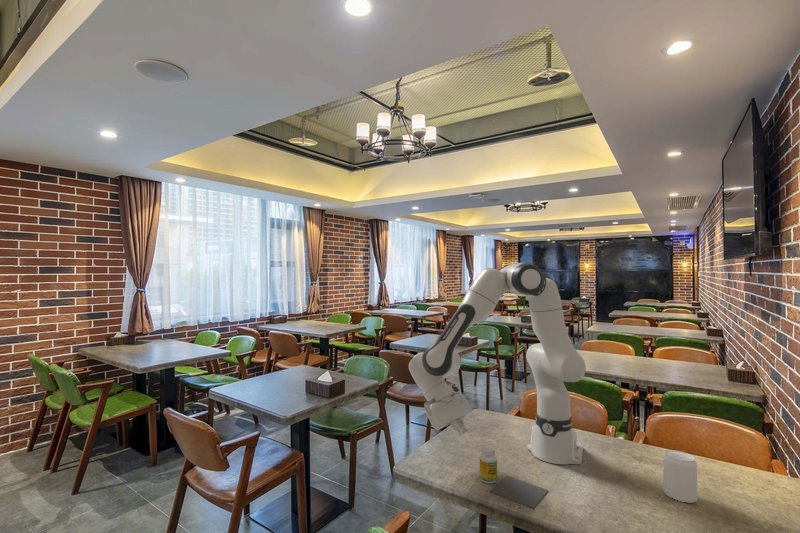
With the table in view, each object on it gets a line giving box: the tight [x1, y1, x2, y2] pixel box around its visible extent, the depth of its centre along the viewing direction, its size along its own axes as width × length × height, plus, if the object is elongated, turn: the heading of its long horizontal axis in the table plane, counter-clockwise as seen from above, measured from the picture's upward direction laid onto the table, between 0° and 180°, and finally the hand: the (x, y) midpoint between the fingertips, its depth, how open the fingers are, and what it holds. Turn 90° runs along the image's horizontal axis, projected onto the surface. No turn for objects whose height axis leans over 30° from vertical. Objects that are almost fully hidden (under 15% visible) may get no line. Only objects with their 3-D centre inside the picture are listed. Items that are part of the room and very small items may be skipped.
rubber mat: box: [489, 474, 549, 510], centre depth 114 cm, size 12×13×1 cm
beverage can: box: [662, 449, 698, 504], centre depth 114 cm, size 8×8×12 cm
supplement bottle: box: [479, 445, 498, 485], centre depth 121 cm, size 5×5×10 cm
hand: (463, 433), depth 126 cm, fingers closed
